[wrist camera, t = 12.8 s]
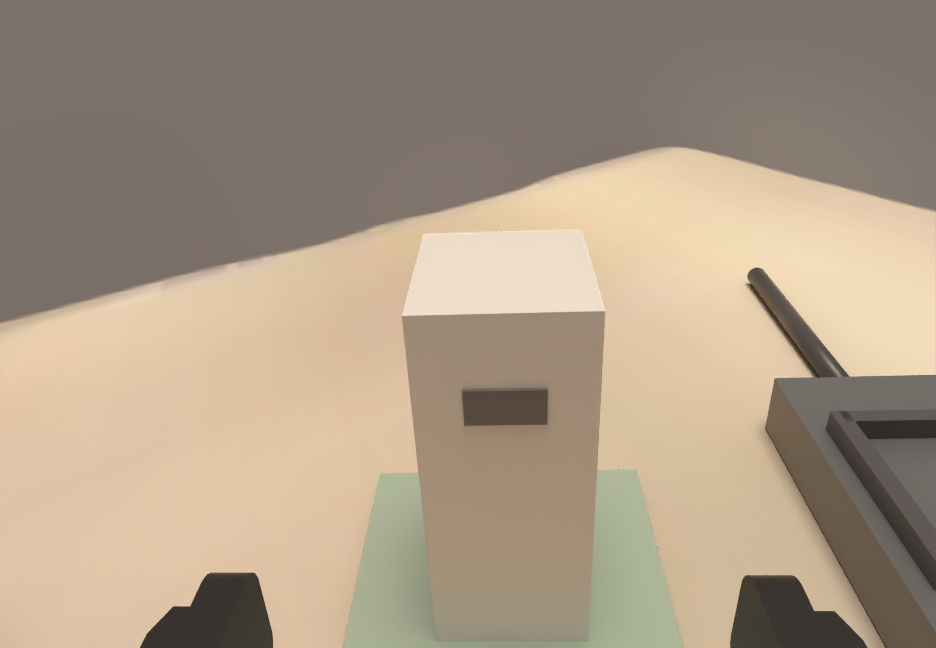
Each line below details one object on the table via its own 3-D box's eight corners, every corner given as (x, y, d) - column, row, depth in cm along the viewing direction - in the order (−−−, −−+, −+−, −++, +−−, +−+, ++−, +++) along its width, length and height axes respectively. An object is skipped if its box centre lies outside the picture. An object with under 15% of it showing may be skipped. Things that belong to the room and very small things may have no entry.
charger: (447, 519, 25) (423, 233, 20) (572, 518, 25) (582, 228, 20) (436, 643, 21) (401, 317, 16) (588, 644, 21) (605, 312, 15)
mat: (381, 481, 28) (380, 473, 28) (635, 477, 27) (636, 469, 27) (328, 729, 19) (326, 720, 19) (701, 731, 19) (703, 722, 18)
